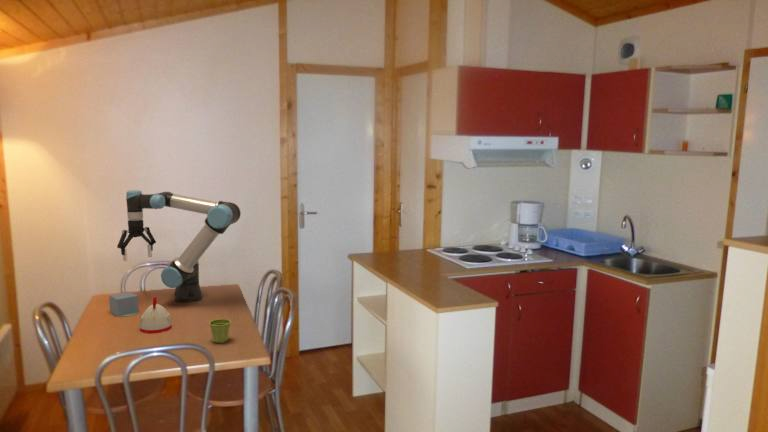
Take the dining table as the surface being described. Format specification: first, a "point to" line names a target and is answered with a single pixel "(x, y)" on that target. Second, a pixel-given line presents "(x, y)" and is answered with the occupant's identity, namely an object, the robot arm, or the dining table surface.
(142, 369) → the dining table surface
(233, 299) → the dining table surface
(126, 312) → the grey-blue rounded block
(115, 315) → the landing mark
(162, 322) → the white and red dome
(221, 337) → the plant pot
